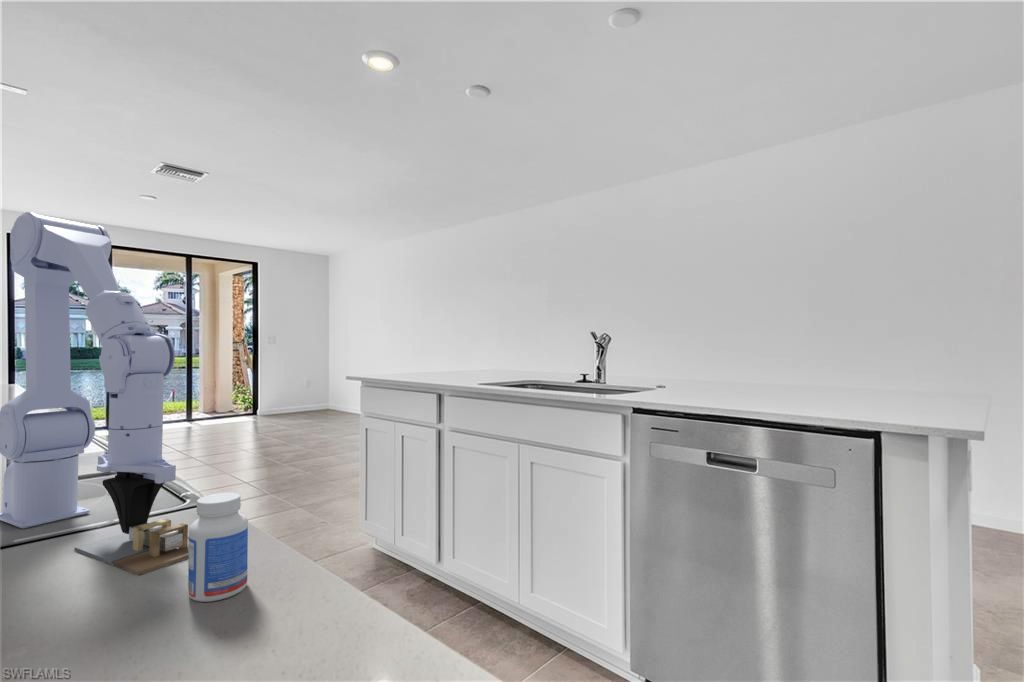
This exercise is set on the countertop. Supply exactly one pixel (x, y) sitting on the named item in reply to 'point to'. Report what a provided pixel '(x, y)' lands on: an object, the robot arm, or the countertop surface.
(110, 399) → the robot arm
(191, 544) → the pill bottle
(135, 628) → the countertop surface
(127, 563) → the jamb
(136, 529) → the door
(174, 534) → the bolt
